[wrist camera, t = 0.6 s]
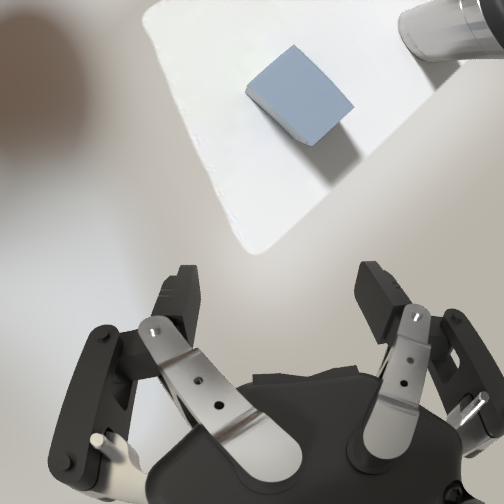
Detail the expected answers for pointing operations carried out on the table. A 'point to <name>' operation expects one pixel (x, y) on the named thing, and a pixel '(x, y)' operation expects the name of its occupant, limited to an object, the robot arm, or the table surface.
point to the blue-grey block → (299, 96)
